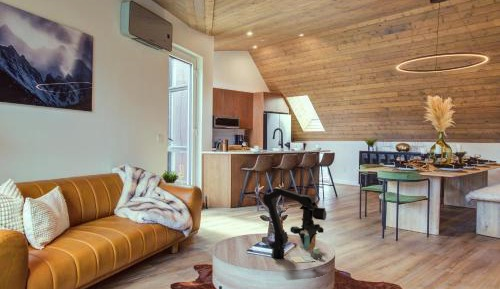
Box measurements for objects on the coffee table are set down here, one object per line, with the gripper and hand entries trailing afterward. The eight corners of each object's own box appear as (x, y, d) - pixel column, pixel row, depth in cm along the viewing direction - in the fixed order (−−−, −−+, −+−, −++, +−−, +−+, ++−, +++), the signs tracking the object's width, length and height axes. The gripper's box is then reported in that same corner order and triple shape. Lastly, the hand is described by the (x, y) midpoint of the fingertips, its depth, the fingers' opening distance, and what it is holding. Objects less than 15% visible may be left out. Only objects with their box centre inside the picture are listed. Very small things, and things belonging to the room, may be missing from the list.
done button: (315, 256, 219) (315, 249, 219) (312, 254, 222) (312, 247, 222) (320, 256, 220) (320, 248, 220) (317, 254, 224) (317, 247, 223)
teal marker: (304, 249, 207) (305, 235, 206) (302, 247, 210) (302, 233, 210) (310, 248, 208) (311, 234, 207) (307, 246, 211) (308, 233, 211)
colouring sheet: (295, 262, 210) (295, 262, 210) (289, 258, 218) (289, 257, 218) (315, 261, 214) (315, 260, 214) (309, 257, 222) (309, 256, 222)
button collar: (314, 259, 218) (314, 255, 218) (310, 256, 223) (310, 252, 223) (321, 258, 220) (322, 254, 220) (317, 255, 224) (318, 252, 224)
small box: (306, 250, 235) (307, 230, 234) (299, 247, 240) (300, 228, 240) (315, 248, 239) (316, 229, 239) (308, 245, 244) (309, 226, 244)
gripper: (298, 221, 198) (297, 249, 198) (328, 220, 204) (327, 247, 204) (290, 216, 209) (289, 243, 209) (319, 216, 214) (318, 242, 215)
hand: (306, 244), depth 209 cm, fingers closed on teal marker, 4 cm apart
